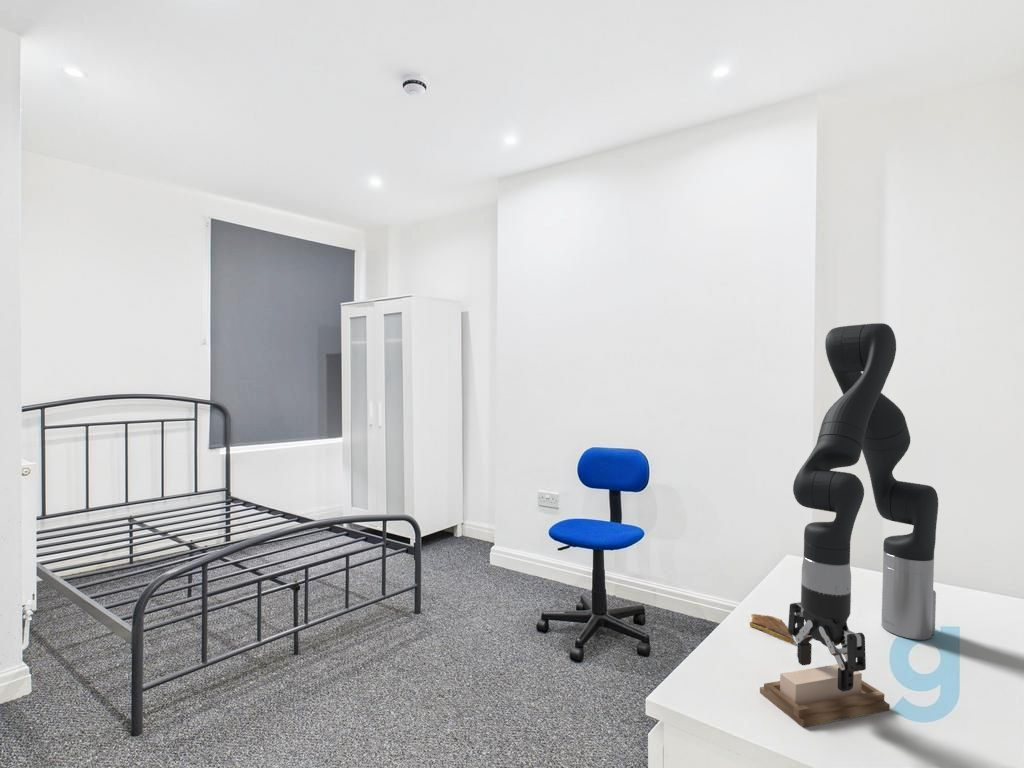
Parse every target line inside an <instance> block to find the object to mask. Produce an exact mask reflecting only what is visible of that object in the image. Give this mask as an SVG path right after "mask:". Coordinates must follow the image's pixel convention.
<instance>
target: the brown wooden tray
mask: <svg viewBox="0 0 1024 768" xmlns="http://www.w3.org/2000/svg"><path fill="white" fill-rule="evenodd" d="M759 694H761V695H762V696H763V697H764V698H766V699H767V700H768V701H770V702H771V703H772V704H773V705H774V706H776V707H777V708H778V709H779V710H781V711H782V712H783V713H784V714H786V715H787V716H788V717H789V718H791V719H792V720H793V721H794V722H795V723H797V724H798V725H799V726H801V727H802V728H807V727H811V726H816V725H821V724H826V723H831V722H836V721H841V720H847V719H852V718H857V717H861V716H866V715H871V714H876V713H882V712H887V711H890V710H891V709H890V708H891V706H890V703H888V702H887V701H885V693H884V692H882V691H880V690H879V689H877V688H875V687H873V686H872V685H870V684H869V683H867V682H866V681H864V680H862V684H861V694H860V695H854V696H849V697H844V698H838V699H833V700H827V701H822V702H817V703H811V704H806V705H801V706H799V705H797V704H796V703H795V702H793V701H792V700H791V699H789V698H788V697H787V696H785V695H784V694H783V693H781V692H780V680H778V681H772V682H766V683H764V684H763V686H759Z"/></svg>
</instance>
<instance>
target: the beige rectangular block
mask: <svg viewBox="0 0 1024 768" xmlns="http://www.w3.org/2000/svg"><path fill="white" fill-rule="evenodd" d="M838 668H839V666H838V663H837V664H831V665H825V666H824V665H823V666H818V667H813V668H805V669H799V670H795V671H789V672H783V673H780V675H779V676H780V677H779V679H780V680H779V681H780V692H781V693H783V694H784V695H785V696H787V697H788V698H789V699H791V700H792V701H793V702H795V703H796V704H797V705H799V706H801V705H806V704H811V703H817V702H822V701H827V700H833V699H838V698H844V697H849V696H854V695H860V694H861V684H862V681H863V679H862V678H863V677H862V675H863V674H862V672H861V671H856V672H854V678H853V688H852V689H851V690H849V691H844V692H842V691H841V690H839V689H838Z"/></svg>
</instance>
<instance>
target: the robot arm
mask: <svg viewBox="0 0 1024 768" xmlns="http://www.w3.org/2000/svg"><path fill="white" fill-rule="evenodd" d="M895 335H896V334H895V333H894V330H893V329H892V327H891V326H890V325H889V324H887V323H879V322H878V323H867V324H866V323H863V324H854V325H846V326H845V325H844V326H838V327H834V328H832V329H830V330H829V331H828V332H827V334H826V337H825V342H824V343H825V345H824V346H825V353H826V354H825V355H826V357H827V361H828V364H829V366H830V368H831V370H832V373H833V375H834V378H835V379H836V382H837V384H838V386H839V388H840V390H841V393H842V395H841V397H839V398H838V399H837V400H836V401H835V402H834V403H833V404H832V405H831V406H830V407H829V409H828V410H827V412H825V414H824V417H823V419H822V422H821V425H820V428H819V433H818V436H817V440H816V444H815V445H814V448H813V450H812V451H811V453H810V454H809V456H808V458H807V459H806V461H805V462H804V463H803V464H802V466H801V468H800V469H799V471H798V472H797V474H796V476H795V479H794V481H793V485H792V492H793V495H794V498H795V501H796V502H797V503H798V504H799V505H800V506H801V507H805V508H806V509H807V508H808V509H811V510H819V511H825V512H831V513H835V518H834V520H832V521H815V522H810V523H807V525H806V526H805V527H804V531H803V559H802V564H801V585H800V586H801V587H800V589H801V591H800V592H801V593H800V595H801V596H800V602H791V603H790V604H789V611H788V613H789V614H788V623H787V624H788V626H787V629H788V633H789V634H790V635H791V636H792V637H794V639H795V642H796V643H797V649H796V650H797V652H796V653H797V655H796V656H797V660H798V664H799V665H801V666H809V665H810V664H811V663H812V643H811V642H812V640H815V641H818V642H820V643H821V645H823V646H825V647H827V648H828V649H827V650H828V651H829V653H830V654H831V656H834V658H835V661H836V663H837V664H838V666H839V668H838V689H839V690H841V691H842V692H844V691H849V690H851V689H852V688H853V678H854V672H856V671H859V672H861V671H865V670H866V669H867V667H866V665H867V664H866V661H867V660H866V658H867V657H866V637H865V634H864V633H863V632H855V631H852V630H850V628H849V627H848V623H847V621H848V619H849V617H850V616H851V606H852V605H851V602H852V570H851V541H852V534H853V529H854V525H855V522H856V519H857V516H858V513H860V512H859V511H860V510H861V509H860V508H861V506H862V505H863V500H864V497H865V487H864V484H863V483H862V480H861V479H860V478H859V477H858V476H857V475H855V474H854V473H851V472H845V471H836V470H833V469H838V468H847V467H852V466H855V465H856V464H857V463H858V462H859V460H860V458H861V456H862V454H863V457H864V460H865V463H866V467H867V470H868V474H869V478H870V481H871V488H872V493H873V497H874V498H873V499H874V502H875V507H876V509H877V512H878V514H879V515H880V517H882V518H883V519H885V520H888V521H891V522H895V523H900V524H905V525H911V526H913V528H912V529H913V530H912V532H910V533H908V534H900V535H890V536H887V537H885V538H884V540H883V545H882V547H883V550H882V552H883V554H882V555H883V556H882V587H881V588H882V589H881V590H882V592H881V593H882V594H881V595H882V596H881V627H882V628H883V629H885V630H886V631H887V632H889V633H891V634H893V635H896V636H899V637H903V638H906V639H912V640H918V641H919V640H920V641H921V640H929V639H931V638H932V636H933V635H935V634H936V608H937V607H936V602H937V600H936V599H937V592H936V591H935V590H934V578H935V577H934V575H935V574H934V573H935V572H934V568H935V567H934V566H935V565H934V564H935V549H936V537H937V536H936V533H937V523H938V522H937V521H938V515H939V514H938V512H939V497H938V493H937V491H936V488H934V487H933V486H931V485H927V484H922V483H915V482H907V481H900V480H897V479H896V478H895V477H894V474H893V472H894V469H895V468H896V466H897V465H898V463H900V461H901V460H902V458H903V457H904V456H905V455H906V453H907V451H908V450H909V448H910V445H911V434H910V431H909V427H908V423H907V421H906V417H905V414H904V413H903V411H902V410H901V409H900V408H899V406H898V405H897V404H895V402H893V401H892V400H891V399H890V398H889V397H887V396H886V395H885V394H883V393H882V391H883V389H884V386H885V384H886V381H887V379H888V378H889V375H890V373H891V370H892V368H893V365H894V363H895V358H896V353H897V340H896V336H895ZM839 645H841V648H838V647H837V646H839ZM843 656H844V658H843ZM844 659H845V660H844Z"/></svg>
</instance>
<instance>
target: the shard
mask: <svg viewBox="0 0 1024 768" xmlns="http://www.w3.org/2000/svg"><path fill="white" fill-rule="evenodd" d="M750 616H751V621H750V622H749V626H750V627H749V628H753V629H756V630H759V631H762V632H764V633H766V634H768V635H770V636H772V637H774V638H777V639H779V640H781V641H784V642H787V643H790V644H793V642H794V638H793V635H790V634H789V633H788V626H786V623H785V622H784V621H783V619H780V618H779V617H775V616H770V615H764V614H757V613H756V614H755V613H754V614H750Z"/></svg>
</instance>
